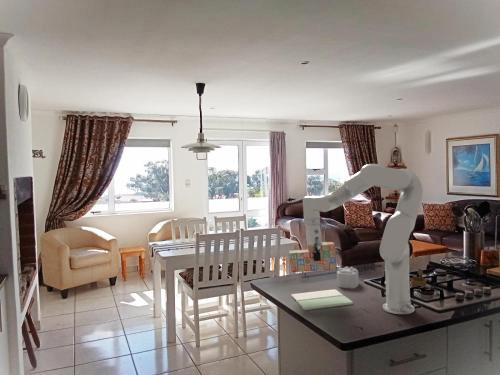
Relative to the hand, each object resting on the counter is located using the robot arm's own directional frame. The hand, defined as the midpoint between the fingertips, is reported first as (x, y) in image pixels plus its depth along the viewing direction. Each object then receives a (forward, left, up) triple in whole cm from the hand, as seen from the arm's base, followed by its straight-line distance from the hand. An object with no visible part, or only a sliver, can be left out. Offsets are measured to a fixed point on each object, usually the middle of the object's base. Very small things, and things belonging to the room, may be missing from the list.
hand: (314, 258), depth 180 cm
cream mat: (+2, -1, -19) cm, 19 cm away
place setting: (-1, -56, -20) cm, 60 cm away
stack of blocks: (0, +1, -5) cm, 6 cm away
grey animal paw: (+14, -23, -19) cm, 34 cm away
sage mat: (-9, -1, -19) cm, 21 cm away
